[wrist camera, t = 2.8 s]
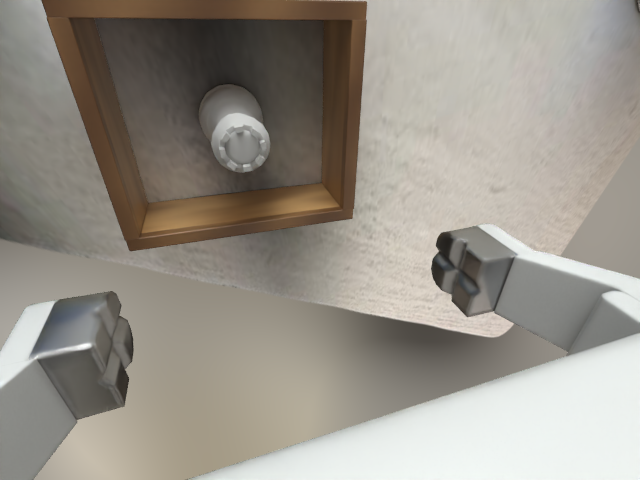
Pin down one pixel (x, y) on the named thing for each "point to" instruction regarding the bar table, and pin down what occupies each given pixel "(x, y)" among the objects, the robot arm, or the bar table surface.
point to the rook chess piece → (234, 127)
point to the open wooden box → (226, 209)
